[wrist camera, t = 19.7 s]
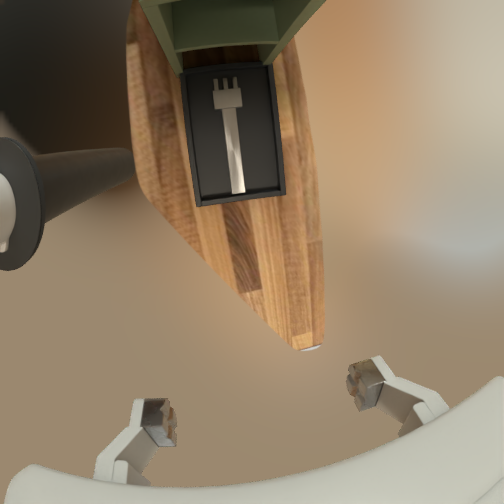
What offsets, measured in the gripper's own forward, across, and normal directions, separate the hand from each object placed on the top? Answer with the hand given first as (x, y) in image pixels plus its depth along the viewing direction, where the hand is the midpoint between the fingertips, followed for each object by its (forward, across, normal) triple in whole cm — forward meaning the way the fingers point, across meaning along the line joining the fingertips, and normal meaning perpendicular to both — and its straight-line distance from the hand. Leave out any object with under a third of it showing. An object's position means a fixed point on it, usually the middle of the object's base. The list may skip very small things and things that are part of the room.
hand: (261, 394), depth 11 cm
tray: (+35, -3, -12) cm, 37 cm away
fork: (+34, -3, -10) cm, 36 cm away
